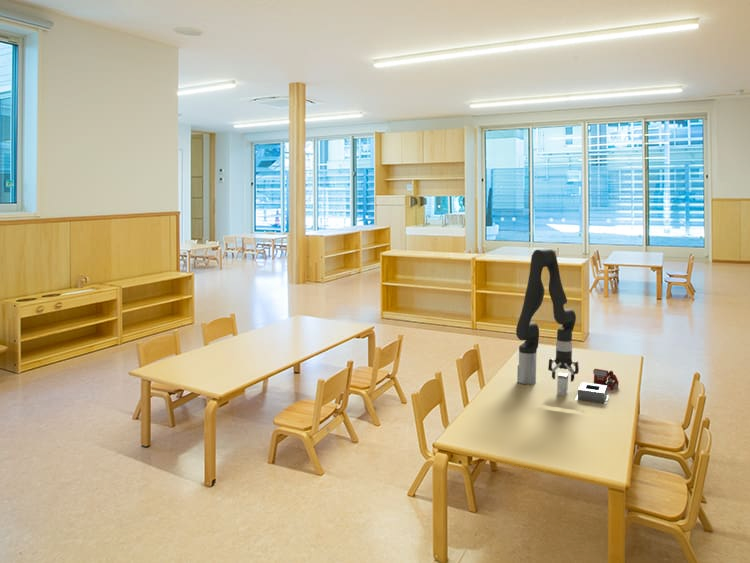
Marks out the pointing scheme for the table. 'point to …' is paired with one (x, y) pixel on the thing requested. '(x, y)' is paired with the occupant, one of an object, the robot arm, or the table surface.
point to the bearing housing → (592, 393)
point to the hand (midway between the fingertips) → (562, 380)
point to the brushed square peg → (562, 384)
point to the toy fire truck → (605, 378)
